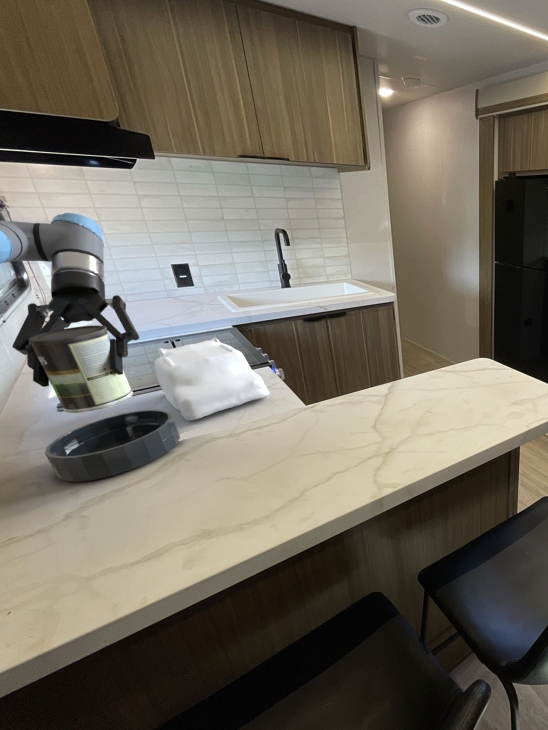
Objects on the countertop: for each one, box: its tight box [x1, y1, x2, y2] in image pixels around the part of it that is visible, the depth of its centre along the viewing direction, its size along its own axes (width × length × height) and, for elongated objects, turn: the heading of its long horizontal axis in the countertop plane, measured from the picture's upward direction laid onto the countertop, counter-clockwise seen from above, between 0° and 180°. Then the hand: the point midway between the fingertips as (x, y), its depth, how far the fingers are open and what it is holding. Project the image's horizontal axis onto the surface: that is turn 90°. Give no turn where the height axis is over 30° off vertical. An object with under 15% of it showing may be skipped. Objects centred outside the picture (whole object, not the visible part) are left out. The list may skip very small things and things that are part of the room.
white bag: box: [154, 336, 270, 422], centre depth 107 cm, size 19×30×13 cm, turn 48°
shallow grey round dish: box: [44, 409, 181, 483], centre depth 83 cm, size 19×19×6 cm
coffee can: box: [28, 325, 134, 414], centre depth 76 cm, size 10×10×14 cm
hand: (80, 377), depth 74 cm, fingers closed on coffee can, 10 cm apart
